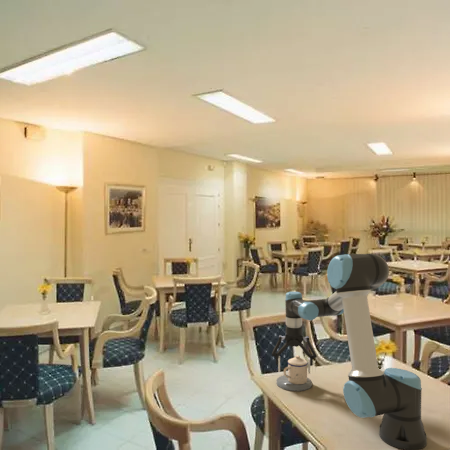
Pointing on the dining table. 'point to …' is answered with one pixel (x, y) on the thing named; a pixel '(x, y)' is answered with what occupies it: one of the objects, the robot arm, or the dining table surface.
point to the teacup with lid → (296, 370)
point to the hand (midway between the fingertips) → (294, 371)
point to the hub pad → (287, 385)
